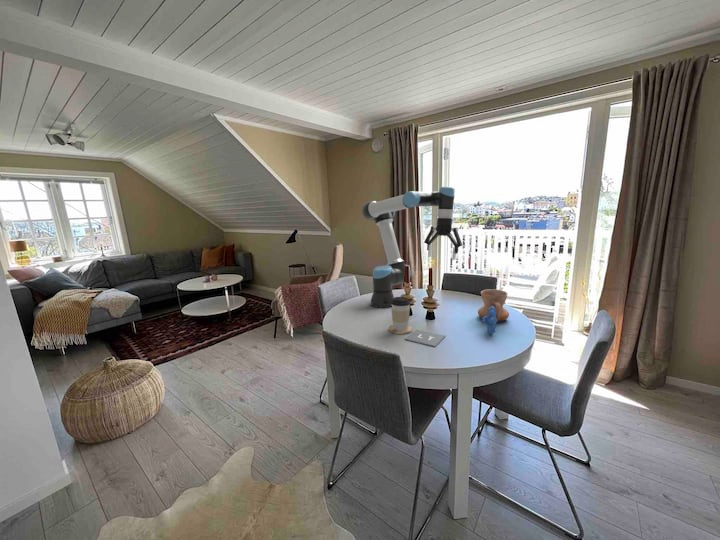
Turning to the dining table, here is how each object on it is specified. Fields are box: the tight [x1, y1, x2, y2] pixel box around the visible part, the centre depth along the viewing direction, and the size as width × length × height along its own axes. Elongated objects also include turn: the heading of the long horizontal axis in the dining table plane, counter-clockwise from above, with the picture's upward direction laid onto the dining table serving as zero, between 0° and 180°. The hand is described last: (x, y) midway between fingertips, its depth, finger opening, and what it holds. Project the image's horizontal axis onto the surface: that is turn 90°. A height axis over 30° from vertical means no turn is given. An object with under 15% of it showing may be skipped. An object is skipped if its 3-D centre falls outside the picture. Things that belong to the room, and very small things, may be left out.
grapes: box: [481, 306, 499, 335], centre depth 133 cm, size 12×7×12 cm, turn 157°
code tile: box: [404, 329, 446, 348], centre depth 130 cm, size 14×12×1 cm
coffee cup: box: [390, 296, 411, 331], centre depth 139 cm, size 9×9×15 cm
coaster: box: [388, 324, 413, 335], centre depth 141 cm, size 11×11×1 cm
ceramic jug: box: [477, 288, 510, 322], centre depth 148 cm, size 18×14×14 cm
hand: (441, 258), depth 156 cm, fingers open, 13 cm apart
